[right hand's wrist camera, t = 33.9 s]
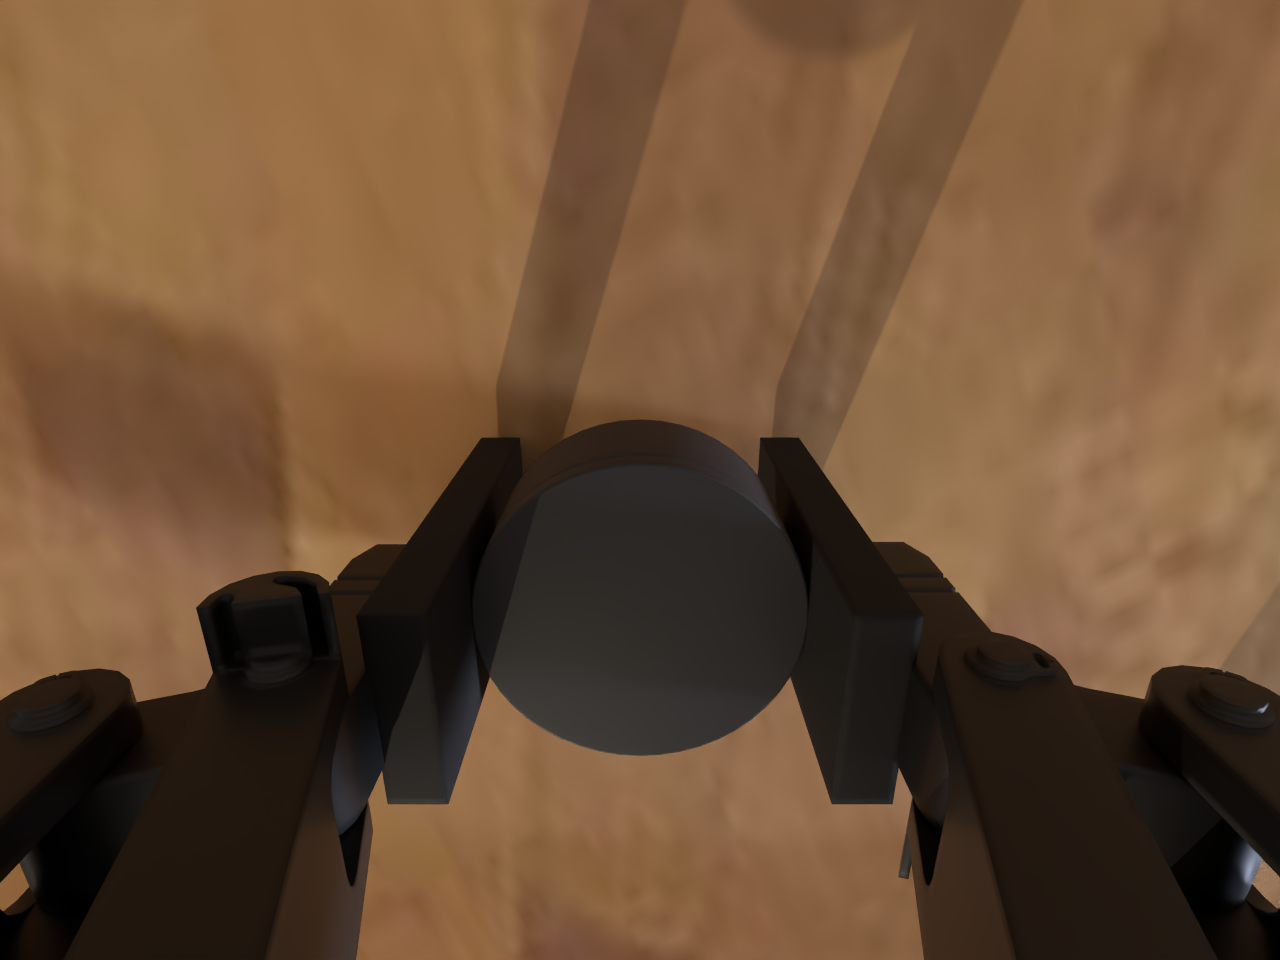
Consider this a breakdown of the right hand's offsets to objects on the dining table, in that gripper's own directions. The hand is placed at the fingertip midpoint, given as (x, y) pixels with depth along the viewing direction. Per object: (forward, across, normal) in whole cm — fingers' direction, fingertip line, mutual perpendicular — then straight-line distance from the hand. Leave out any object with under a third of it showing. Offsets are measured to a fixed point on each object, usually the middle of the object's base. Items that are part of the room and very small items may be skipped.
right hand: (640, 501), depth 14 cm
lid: (-4, 0, 0) cm, 4 cm away
